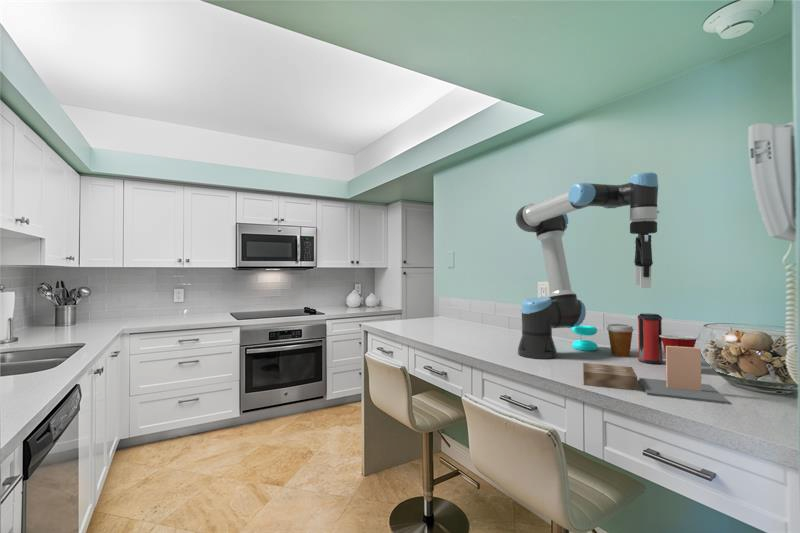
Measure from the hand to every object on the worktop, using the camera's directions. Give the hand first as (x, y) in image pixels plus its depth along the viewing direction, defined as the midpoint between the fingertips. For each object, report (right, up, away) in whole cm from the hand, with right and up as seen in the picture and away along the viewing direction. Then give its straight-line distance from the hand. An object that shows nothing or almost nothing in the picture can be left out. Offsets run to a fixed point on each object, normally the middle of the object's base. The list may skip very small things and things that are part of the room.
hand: (642, 286), depth 124 cm
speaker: (+15, -30, +19) cm, 38 cm away
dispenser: (-14, -30, -6) cm, 33 cm away
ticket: (+2, -29, -15) cm, 32 cm away
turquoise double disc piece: (+2, -30, +43) cm, 52 cm away
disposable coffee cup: (+11, -30, +31) cm, 44 cm away
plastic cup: (+17, -30, +8) cm, 35 cm away
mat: (+1, -29, -14) cm, 33 cm away
